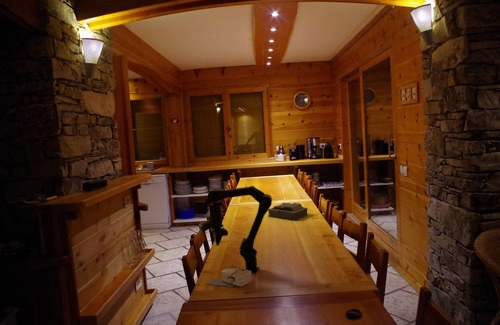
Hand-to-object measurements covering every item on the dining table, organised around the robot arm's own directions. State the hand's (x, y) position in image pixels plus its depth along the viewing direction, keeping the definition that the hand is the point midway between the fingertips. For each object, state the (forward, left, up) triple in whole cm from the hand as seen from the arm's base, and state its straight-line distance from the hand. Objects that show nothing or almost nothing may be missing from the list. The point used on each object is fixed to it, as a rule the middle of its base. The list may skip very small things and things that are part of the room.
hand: (217, 245), depth 172 cm
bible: (-104, +15, -14) cm, 106 cm away
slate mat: (+13, +6, -13) cm, 19 cm away
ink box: (+8, +7, -10) cm, 15 cm away
